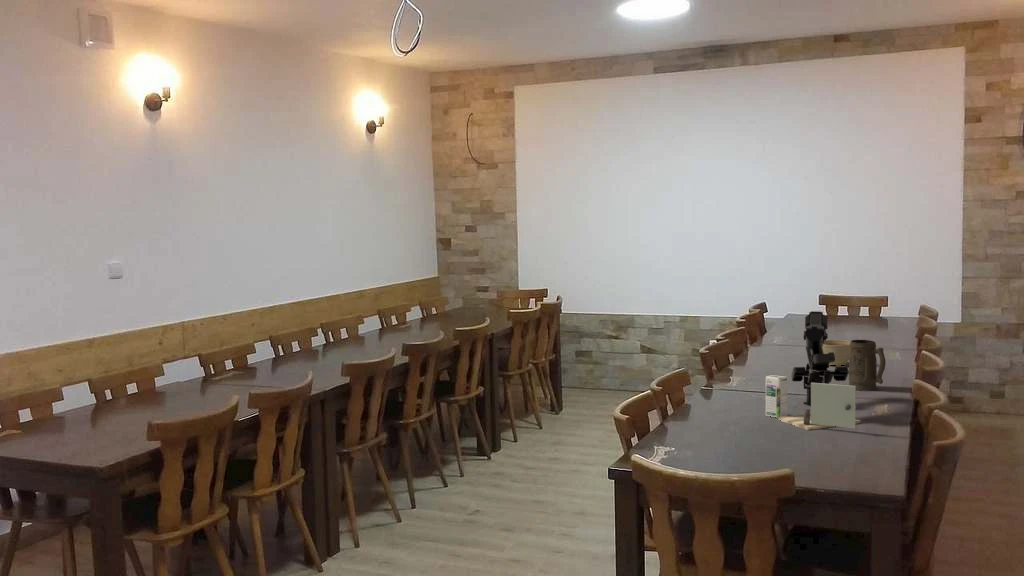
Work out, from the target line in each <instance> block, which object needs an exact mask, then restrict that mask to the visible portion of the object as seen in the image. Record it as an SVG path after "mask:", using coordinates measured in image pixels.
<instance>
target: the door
mask: <svg viewBox="0 0 1024 576" xmlns="http://www.w3.org/2000/svg"><path fill="white" fill-rule="evenodd" d="M855 389H856V386H849V384H847V385H846V384H834V383H829V384H823V383H811V405H810V413H811V424H818V425H828V426H836V427H838V428H840V427H841V428H847V429H848V428H849V429H856V424H855V419H856V390H855Z"/></svg>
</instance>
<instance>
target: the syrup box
mask: <svg viewBox="0 0 1024 576" xmlns="http://www.w3.org/2000/svg"><path fill="white" fill-rule="evenodd" d="M770 416H771V417H772V418H775V417H776V419H778V417H782V416H788V376H782V375H775V374H773V375H772V374H771V375H766V376H765V417H770ZM771 417H770V418H771Z"/></svg>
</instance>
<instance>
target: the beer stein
mask: <svg viewBox="0 0 1024 576" xmlns="http://www.w3.org/2000/svg"><path fill="white" fill-rule="evenodd" d="M850 341H851V342H850V357H849V360H848V366H849V367H848V370H849V373H848V380H849V381H848V382H849V384H848V385H849V386H856V389H855V391H861V390H867V391H866V392H868V390H870V391H875V390H877V388H878V387H877V383H878V384H880V385H882V384H883V383H884V380H883V374H884V372H885V369H886V357H885V354H884V347H878V348H877V344H876V341H874V340H870V339H869V340H868V339H852V340H850ZM876 355H878V356H879V366H878V371H877V364H878V362H877V356H876Z"/></svg>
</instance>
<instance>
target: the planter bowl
mask: <svg viewBox="0 0 1024 576" xmlns="http://www.w3.org/2000/svg"><path fill="white" fill-rule="evenodd" d="M851 341H852V340H845V339H844V340H842V339H841V340H840V339H827V340H826V341H824V343H823V346H822V348H823V352H824V354H828V353H829V352H834V355H835V361H834V362H830V363H829V365H836V366H841V365H845V366H847V363H848V362H849V357H850V342H851ZM836 366H835V367H836Z"/></svg>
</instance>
